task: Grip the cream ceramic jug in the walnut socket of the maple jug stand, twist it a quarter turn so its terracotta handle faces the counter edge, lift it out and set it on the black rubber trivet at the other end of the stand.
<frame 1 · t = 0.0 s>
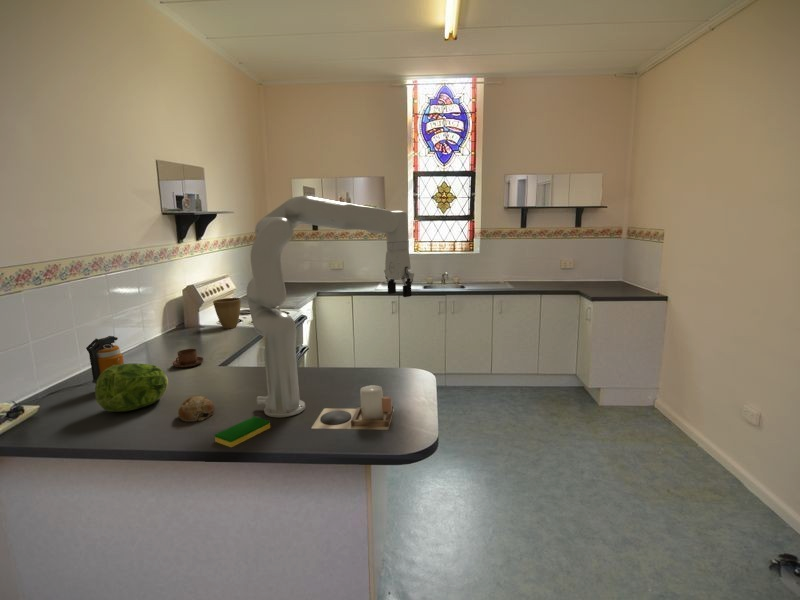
hand: (399, 295, 168), 31 cm above the countertop, tool pointing down, fingers open, 9 cm apart
bread roll: (196, 416, 148), on the countertop
jug: (372, 418, 138), point 1 cm above the countertop, touching jug stand
lettuce: (139, 406, 157), on the countertop
canister: (110, 390, 173), on the countertop
cup and saucer: (188, 365, 201), on the countertop
dish sponge: (243, 436, 133), on the countertop
plant pot: (229, 327, 270), on the countertop
jug stand: (354, 421, 139), on the countertop
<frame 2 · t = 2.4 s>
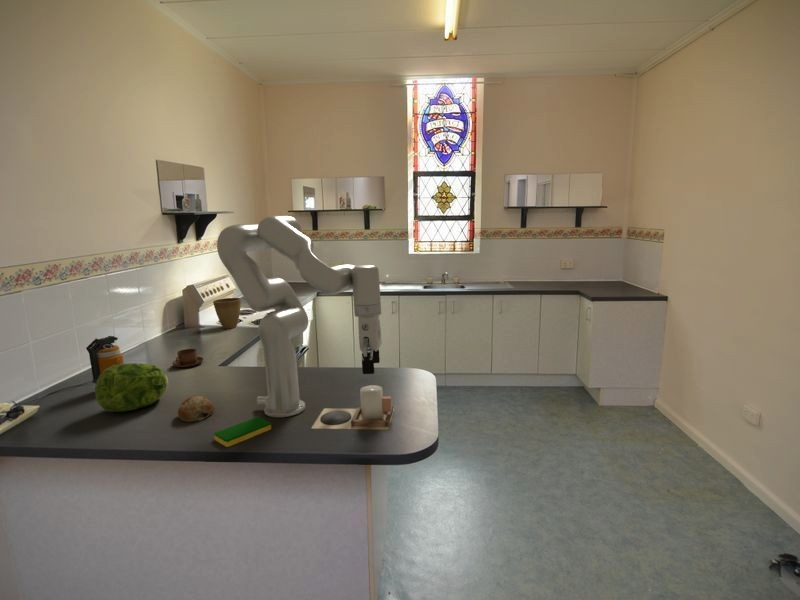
hand: (371, 368, 135), 16 cm above the countertop, tool pointing down, fingers open, 9 cm apart
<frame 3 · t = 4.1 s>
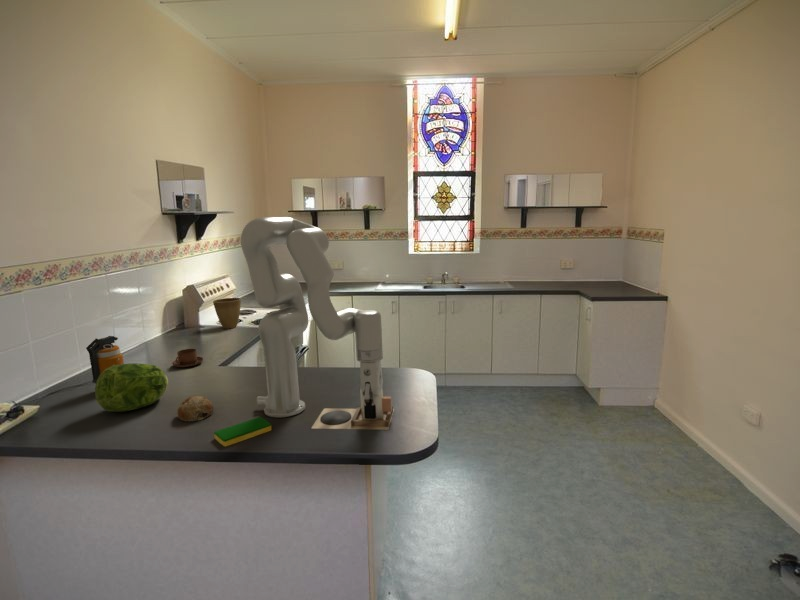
hand: (372, 412, 138), 3 cm above the countertop, tool pointing down, fingers closed on jug, 6 cm apart
jug: (372, 418, 138), point 1 cm above the countertop, touching gripper, jug stand
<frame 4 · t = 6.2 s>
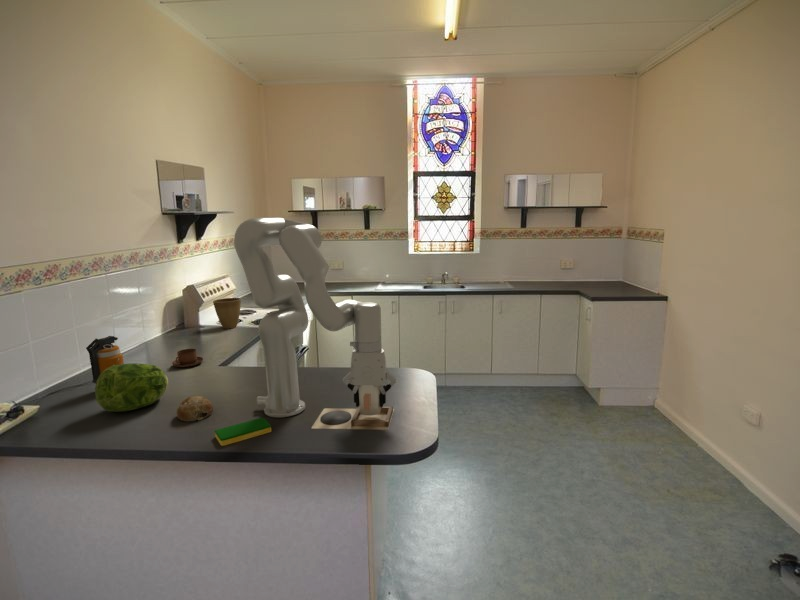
hand: (370, 404, 137), 5 cm above the countertop, tool pointing down, fingers closed on jug, 6 cm apart
jug: (370, 410, 138), point 3 cm above the countertop, touching gripper
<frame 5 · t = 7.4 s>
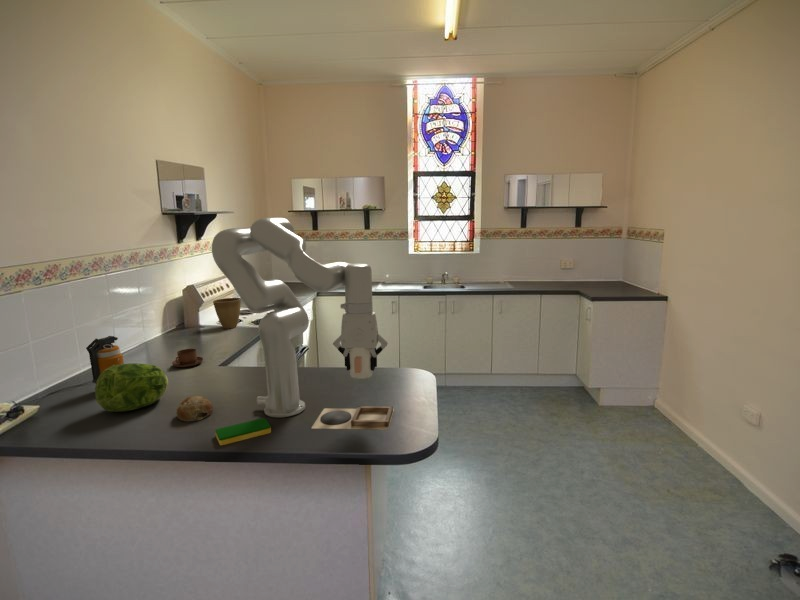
hand: (361, 368, 136), 16 cm above the countertop, tool pointing down, fingers closed on jug, 6 cm apart
jug: (361, 374, 136), point 14 cm above the countertop, touching gripper
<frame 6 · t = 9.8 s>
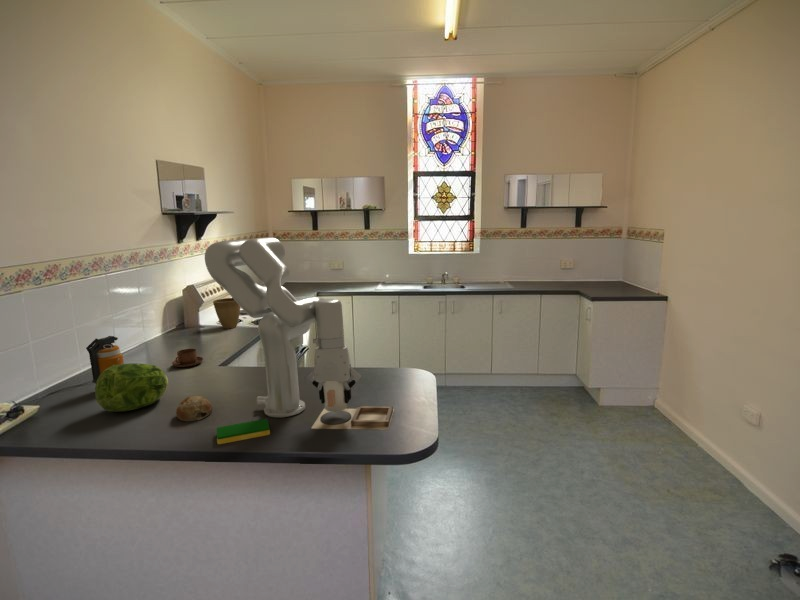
hand: (335, 401, 138), 6 cm above the countertop, tool pointing down, fingers closed on jug, 6 cm apart
jug: (336, 407, 138), point 4 cm above the countertop, touching gripper
when the fingers open (5 cm above the countertop, at t = 10.7 s): jug drops 2 cm, resting on jug stand.
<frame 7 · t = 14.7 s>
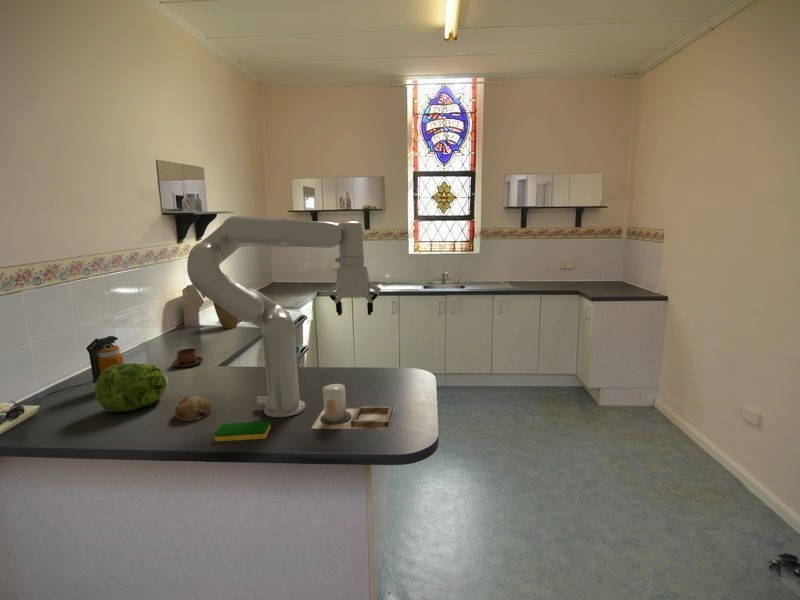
hand: (354, 314, 152), 28 cm above the countertop, tool pointing down, fingers open, 9 cm apart
jug: (335, 416, 139), point 1 cm above the countertop, touching jug stand
at the end: jug 0.1 cm from the target spot on the jug stand, point 1.4 cm above the jug stand's base; jug tilted 0°; the gripper is holding nothing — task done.
